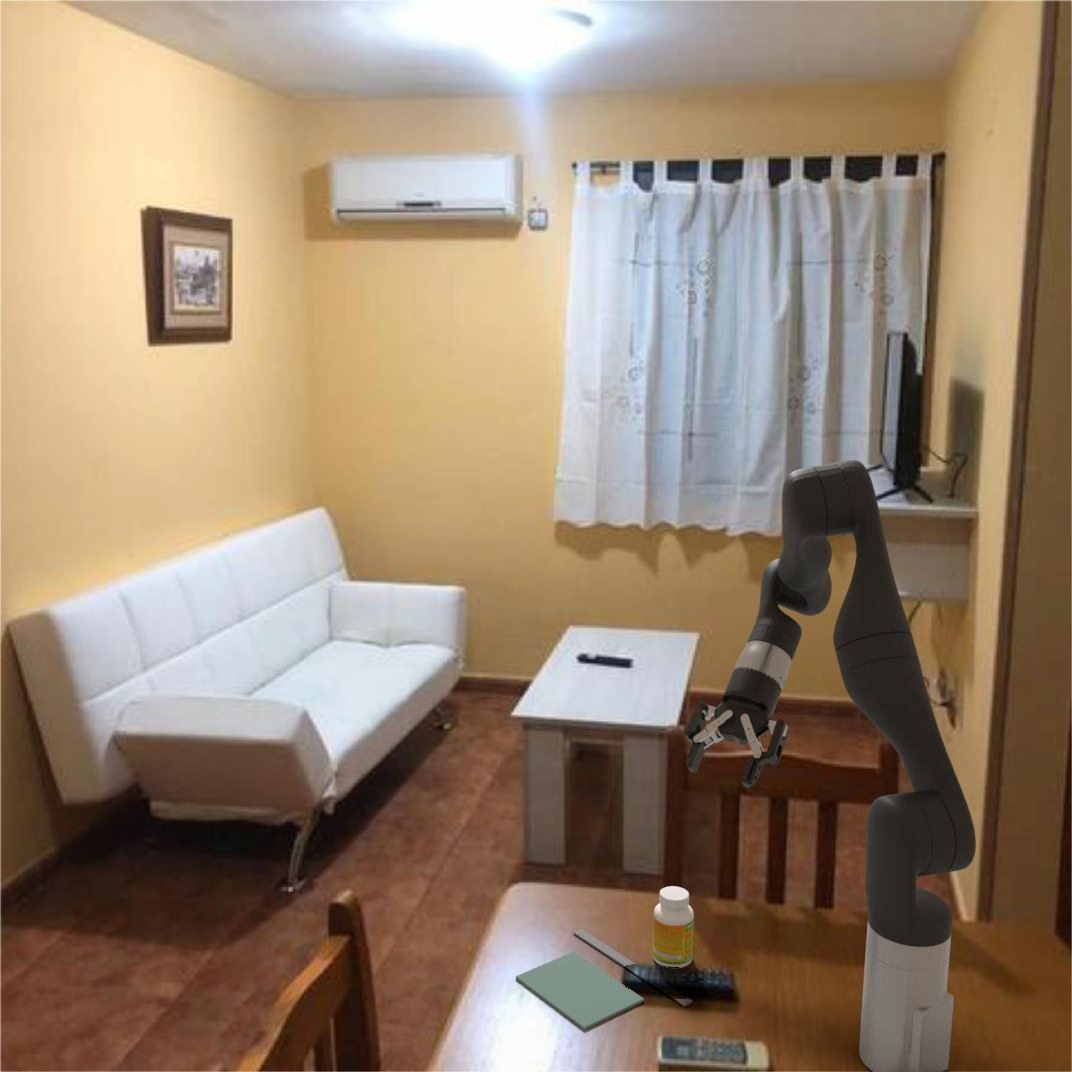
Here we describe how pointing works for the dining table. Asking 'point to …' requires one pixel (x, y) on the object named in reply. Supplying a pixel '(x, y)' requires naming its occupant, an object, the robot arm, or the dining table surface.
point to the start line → (613, 955)
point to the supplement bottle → (673, 928)
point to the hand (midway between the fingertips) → (718, 777)
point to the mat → (579, 990)
